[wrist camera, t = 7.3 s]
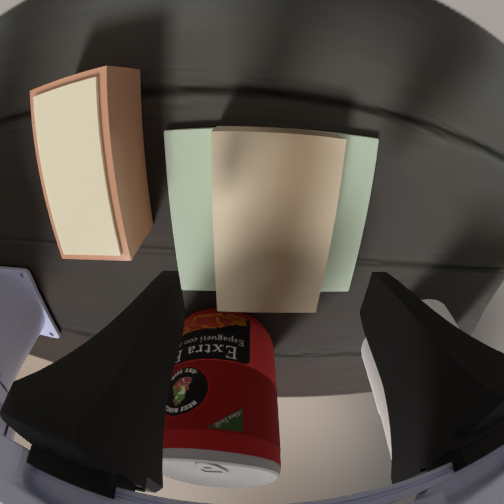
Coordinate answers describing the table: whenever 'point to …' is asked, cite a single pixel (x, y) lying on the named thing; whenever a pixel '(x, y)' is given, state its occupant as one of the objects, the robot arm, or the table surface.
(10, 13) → the table surface
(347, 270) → the mat
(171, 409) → the canned food
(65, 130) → the brown and cream block
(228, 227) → the beige block
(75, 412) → the robot arm
